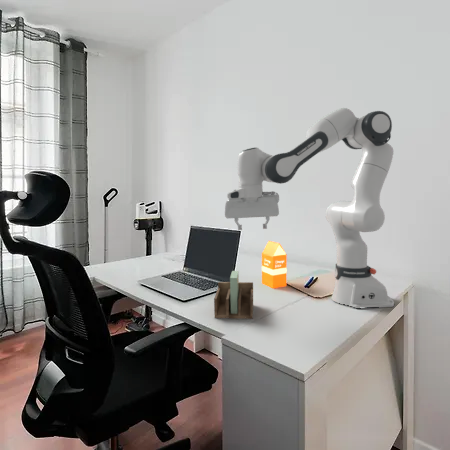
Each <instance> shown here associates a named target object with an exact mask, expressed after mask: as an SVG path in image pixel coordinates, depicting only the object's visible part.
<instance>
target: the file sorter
mask: <svg viewBox="0 0 450 450" xmlns="http://www.w3.org/2000/svg"><path fill="white" fill-rule="evenodd" d="M213 302H214V303H213V306H214V308H213V309H214V310H213V311H214V314H213V315H214V319H236V320H237V319H241V320H243V319H246V320H253V319H254V282H253V281H252V282H250V281H249V282H247V281H246V282H240V281H239V297H238V314H235V313H231V299H230V281H218V282H217V290H216V292H215V295H214V298H213Z"/></svg>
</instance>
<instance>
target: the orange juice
mask: <svg viewBox="0 0 450 450" xmlns="http://www.w3.org/2000/svg"><path fill="white" fill-rule="evenodd" d="M287 256H288V255H287V253H286V252H285V249H284V248H283V246H282V245H281V243H280V242H276V241H271V240H268V242H267V243H266V245H265V247H264V249H263V251H262V252H261V284H262V285H265V286H267V287H269V288H271V289H278V288H283V287H287V274H288V273H287V272H288V271H287V269H288V268H287V261H288V259H287Z"/></svg>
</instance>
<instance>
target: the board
mask: <svg viewBox="0 0 450 450" xmlns="http://www.w3.org/2000/svg"><path fill="white" fill-rule="evenodd" d="M229 282H230V299H231V313H235V314H238V297H239V282H240V281H239V270H232V271H231V274H230V277H229Z"/></svg>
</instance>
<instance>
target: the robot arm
mask: <svg viewBox="0 0 450 450" xmlns="http://www.w3.org/2000/svg"><path fill="white" fill-rule="evenodd" d="M392 127H393V124H392V119H391V117H390V115H389V114H388V113H387V112H385V111H381V110H375V111H371V112H369V113H367V114H366V115H364V116H362V117H360V118H359V117H356V116H355V114H354V112H353V111H352V110H350V109H349V108H347V107H342V108H339V109H336V110H334V111H332V112H330V113H328V114H326V115H325V116H323V117H322V118H320V119H319V120H317V121H315V122H314V123H313V124H312V125H311V126H310V127H309V128H308V129H307V130H306V133H305V138H306V139H305V140H303V141H302V142H300V144H298V145H297V146H295V147H294V148H292V149H291V150H290V151H287V152H283V153H282V152H281V153H278V154H275V155H271V154H269V153H267V152H264V150H261V149H260V148H259V147H250V148H247V149H243V150H242V151H240V152H239V154H238V156H237V174H238V178H239V181H238V189H233V190H231V191H230V192H228V193H227V195H226V197H227V200H226V202H225V205H224V217H225V218H226V219H234V222H235V224H236V225H237V230H238V231H241V230H243V227H242V226H243V225H242V224H241V223H239V219H244V218H246V219H248V218H265V220H266V221H265V223H262V229H263V230H267V229H268V223H269V221H270V218H272V217H278V215H280V211H279V201H280V195H279V193H278V192H276V191H263V182H268V183H276V184H286V183H288V182H290V181H291V180H292V179H293V178H294V176H295V175H296V173H297V171H298V170H299V169H300V168H301V166H302V165H304V164H305V163H307V162H308V161H310V160H311V159H312V158H314V157H315V156H316V155H317V154H319V153H321V152H323V151H325V150H328V149H331V148H332V147H334V146H335V145H336V144H337V143H339V142H340V141H342V142H343V143H344V144H345V146H346V147H348V148H349V149H352V150H362V154H361V159H360V160H359V163H358V165H357V168H356V169H355V172H354V174H353V177H352V179H351V181H350V186H351V188H352V190H353V193H354V194H353V198H352V200H351V201H350V200H340V201H334V202H331V204H329V205H328V207H327V208H326V210H325V218H326V220H327V222H328V223H329V225H330V226H331V229H332V232H333V234H334V238H335V243H336V263H335V267H334V278H335V282H334V287H333V288H334V289H333V290H332V291H333V293H332V295H331V300H332V301H334V302H335V303H336V304H339V303H340V304H339V305H343V304H345V305H344V306H347V305H349V306H348V307H350V306H353V307H356V308H360V307H379V308H391V307H392V308H393V307H394V306H395V301H394V300H393V298H391V297H390V296H389V295H388V290H387V288H386V286H385V285H384V283H382V282H381V281H380V280H378V279H377V278H376V277H374V275H376V273H377V270H376V269H375V268H373V267H371V266H369V265H368V245H367V244H366V242H365V241H364V240H363V238H362V236H361V233H372V232H376V231H379V230H380V229H381V228H382V226H383V225H384V223H385V211H384V210H383V208H382V207H381V202H380V200H381V199H380V198H381V197H380V196H381V191H382V189H383V187H384V183H385V180H386V179H387V176H388V173H389V171H390V168H391V166H392V162H393V158H394V157H393V155H394V149H393V147H392V145H390V144H389V143H388V142H389V141H390V140H391V138H392V135H391V134H392V133H391V132H392ZM353 307H352V308H353ZM356 308H355V309H356Z"/></svg>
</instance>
